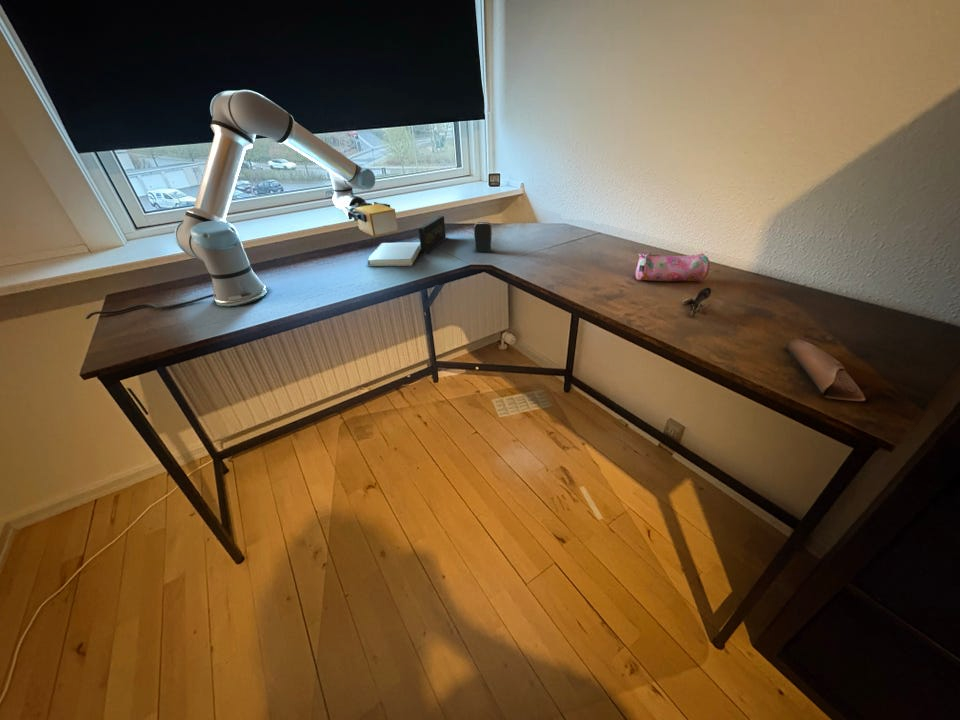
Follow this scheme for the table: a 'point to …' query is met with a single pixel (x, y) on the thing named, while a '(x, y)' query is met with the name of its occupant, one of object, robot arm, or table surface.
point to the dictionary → (378, 220)
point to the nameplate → (432, 234)
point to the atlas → (394, 254)
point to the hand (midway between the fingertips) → (378, 215)
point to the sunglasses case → (825, 372)
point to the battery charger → (483, 236)
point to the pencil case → (672, 267)
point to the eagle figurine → (698, 301)
